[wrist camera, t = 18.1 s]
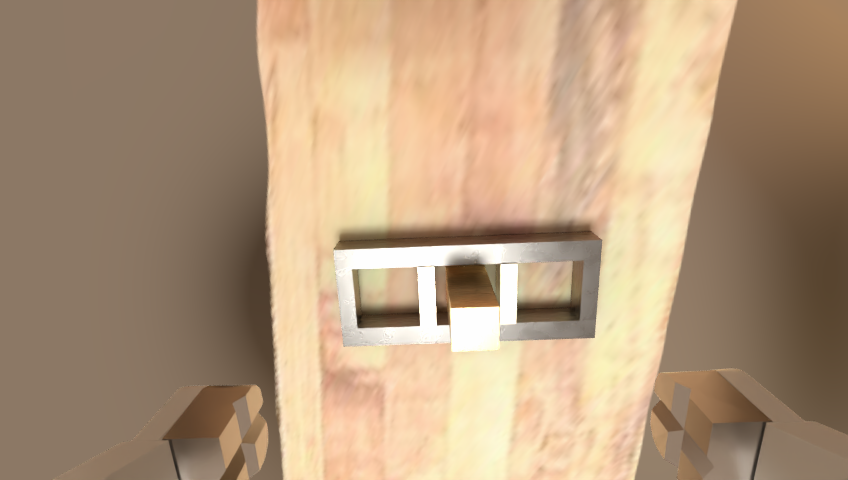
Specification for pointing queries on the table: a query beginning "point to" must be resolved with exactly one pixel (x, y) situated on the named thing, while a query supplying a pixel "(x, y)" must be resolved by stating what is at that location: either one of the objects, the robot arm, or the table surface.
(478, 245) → the grey compartment tray
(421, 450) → the table surface
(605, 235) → the table surface
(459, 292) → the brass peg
